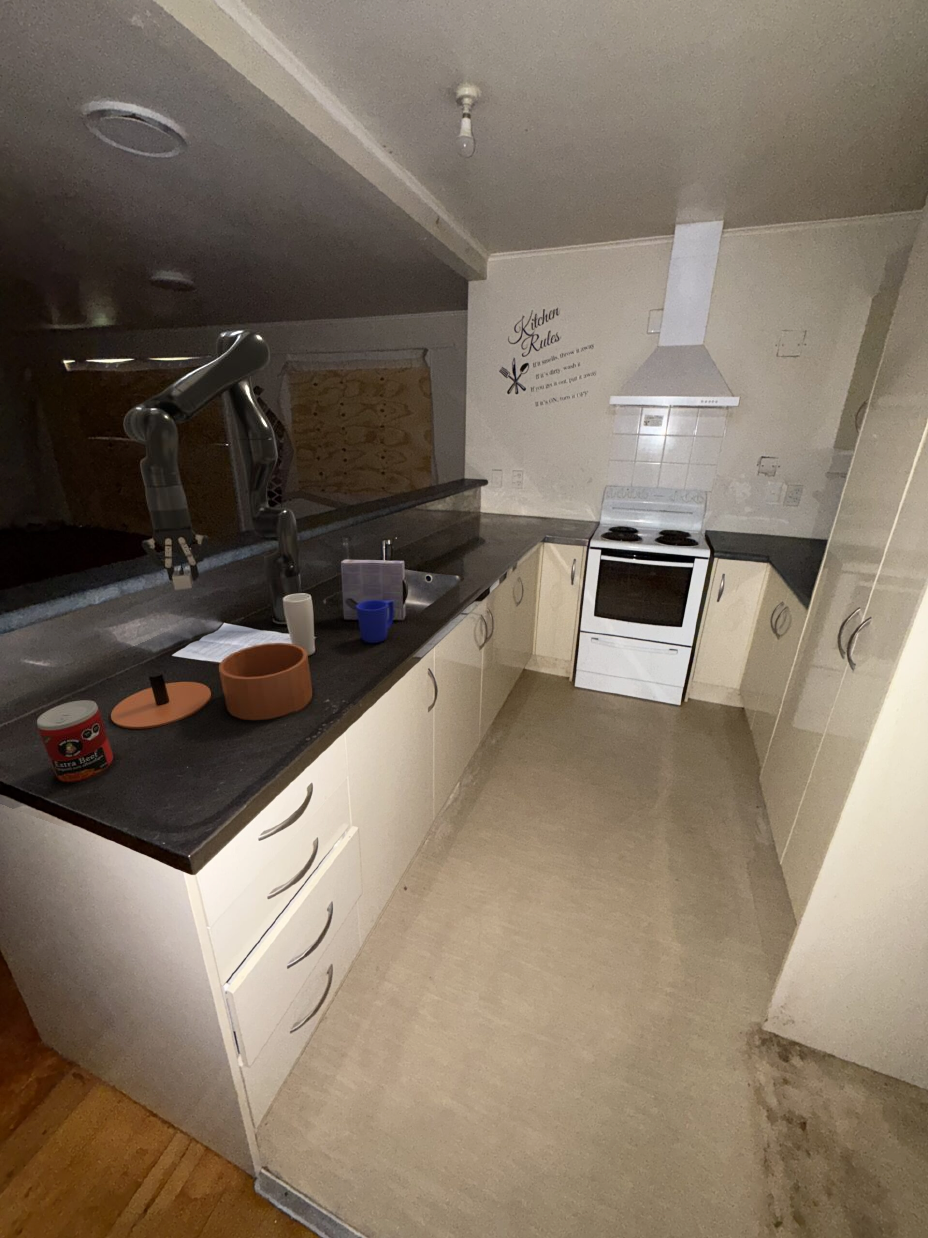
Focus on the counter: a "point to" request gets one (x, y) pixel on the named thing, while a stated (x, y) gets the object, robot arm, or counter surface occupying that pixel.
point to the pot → (266, 681)
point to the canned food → (75, 740)
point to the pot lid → (160, 703)
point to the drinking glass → (300, 620)
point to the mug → (374, 619)
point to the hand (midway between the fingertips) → (184, 580)
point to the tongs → (182, 577)
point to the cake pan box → (373, 585)
